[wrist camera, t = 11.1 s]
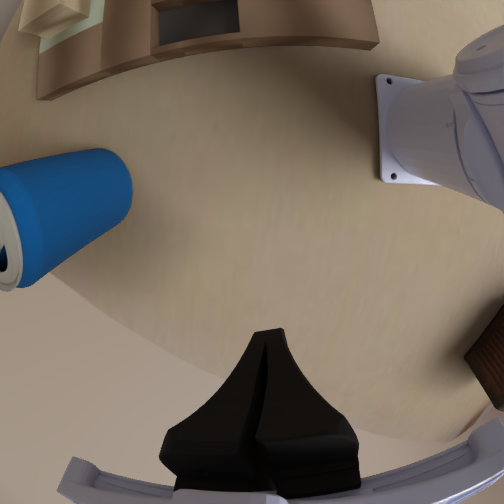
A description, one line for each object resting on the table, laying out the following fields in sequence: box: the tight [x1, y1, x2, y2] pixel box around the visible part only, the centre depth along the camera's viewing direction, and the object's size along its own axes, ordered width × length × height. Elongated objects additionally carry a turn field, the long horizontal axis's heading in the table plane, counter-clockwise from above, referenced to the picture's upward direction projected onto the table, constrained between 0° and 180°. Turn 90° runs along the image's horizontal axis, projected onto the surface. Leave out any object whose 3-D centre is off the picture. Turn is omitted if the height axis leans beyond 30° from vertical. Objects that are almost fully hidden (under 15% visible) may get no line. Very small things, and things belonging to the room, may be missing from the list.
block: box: [18, 0, 91, 39], centre depth 10 cm, size 4×4×4 cm
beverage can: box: [0, 149, 133, 291], centre depth 14 cm, size 6×6×12 cm
